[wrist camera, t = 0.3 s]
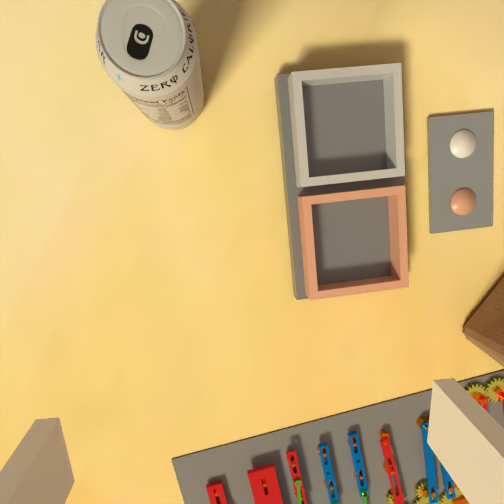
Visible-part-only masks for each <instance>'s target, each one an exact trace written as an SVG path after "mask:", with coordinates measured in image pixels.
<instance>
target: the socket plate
mask: <svg viewBox="0 0 504 504" xmlns="http://www.w3.org/2000/svg"><path fill="white" fill-rule="evenodd" d="M275 90H276V101H277V112H278V123H279V135H280V146H281V157H282V168H283V179H284V190H285V201H286V213H287V224H288V235H289V246H290V257H291V268H292V279H293V291H294V297H295V298H296V299H297V300H300V299H308V298H309V299H310V300H316V299H323V298H331V297H338V296H345V295H353V294H360V293H368V292H375V291H382V290H390V289H397V288H405V287H409V281H408V251H407V220H406V190H405V185H404V176H405V160H404V130H403V99H402V69H401V63H391V64H379V65H367V66H355V67H343V68H331V69H319V70H307V71H295V72H291V73H287V74H277V75H276V77H275Z"/></svg>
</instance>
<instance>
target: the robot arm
mask: <svg viewBox="0 0 504 504" xmlns="http://www.w3.org/2000/svg"><path fill="white" fill-rule="evenodd" d="M427 443H428V445H429V446H430V447H431V449H432V450H433V452H434V453H435V455H436V456H437V458H438V459H439V460H440V462H441V463H442V465H443V466H444V468H445V469H446V471H447V472H448V473H449V475H450V476H451V478H452V479H453V481H454V482H455V483H456V485H457V486H458V488H459V489H460V491H461V492H462V494H463V495H464V496H465V498H466V499H467V501H468V502H469V504H504V428H503V427H502V426H501V425H500V424H499V423H498V422H497V421H496V420H495V419H494V418H493V417H492V416H491V415H490V414H489V413H488V412H487V411H486V410H485V409H484V408H483V407H482V406H481V405H480V404H479V403H478V402H477V401H476V400H475V399H474V398H473V397H472V396H471V395H470V394H469V393H468V392H467V391H466V390H465V389H464V388H463V387H462V386H461V385H460V384H459V383H458V382H457V381H456V380H455V379H454V378H452V379H441V380H433V386H432V397H431V407H430V417H429V428H428V438H427ZM73 484H74V477H73V473H72V469H71V465H70V461H69V457H68V452H67V448H66V444H65V440H64V436H63V432H62V427H61V423H60V419H59V417H58V418H48V419H38V420H35V422H34V423H33V425H32V426H31V427H30V429H29V430H28V432H27V433H26V435H25V436H24V438H23V439H22V441H21V442H20V444H19V445H18V447H17V448H16V449H15V451H14V452H13V454H12V455H11V457H10V458H9V460H8V461H7V463H6V464H5V466H4V467H3V469H2V470H1V472H0V504H65V502H66V499H67V497H68V495H69V493H70V490H71V488H72V486H73Z"/></svg>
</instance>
